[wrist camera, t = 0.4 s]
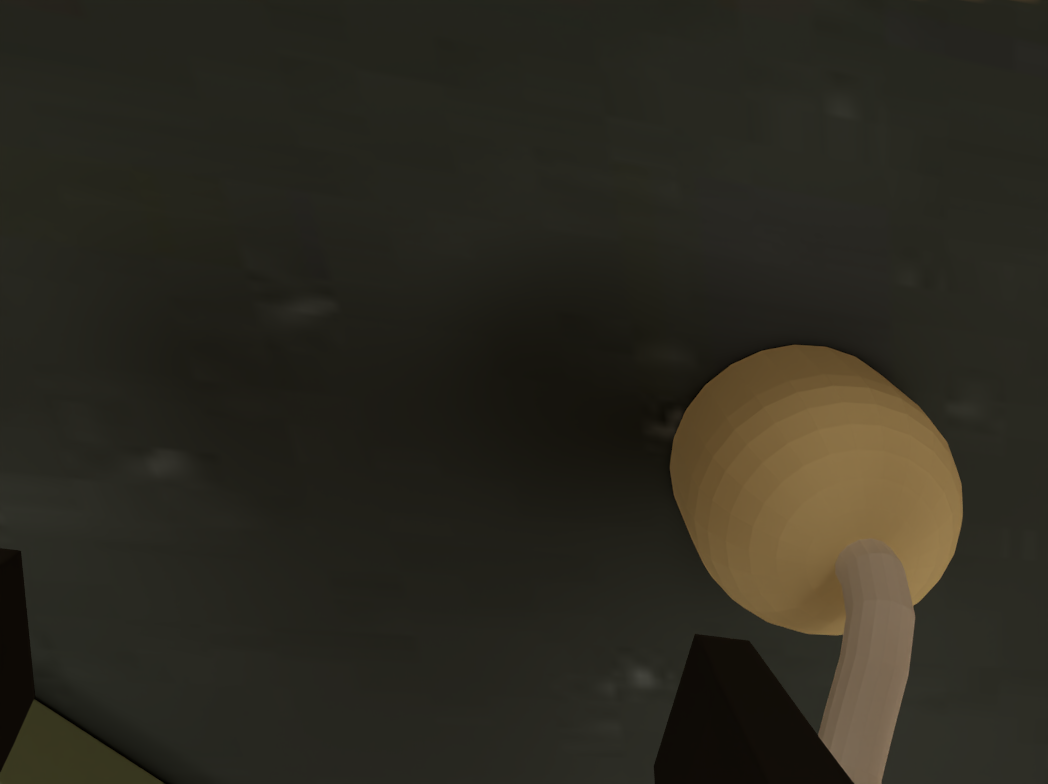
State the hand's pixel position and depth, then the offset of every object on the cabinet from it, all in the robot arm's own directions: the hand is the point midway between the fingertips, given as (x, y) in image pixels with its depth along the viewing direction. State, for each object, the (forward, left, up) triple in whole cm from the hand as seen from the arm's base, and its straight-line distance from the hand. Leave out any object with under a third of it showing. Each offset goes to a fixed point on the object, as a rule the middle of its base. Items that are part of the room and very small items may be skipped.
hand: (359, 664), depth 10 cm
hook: (+3, -7, -10) cm, 13 cm away
